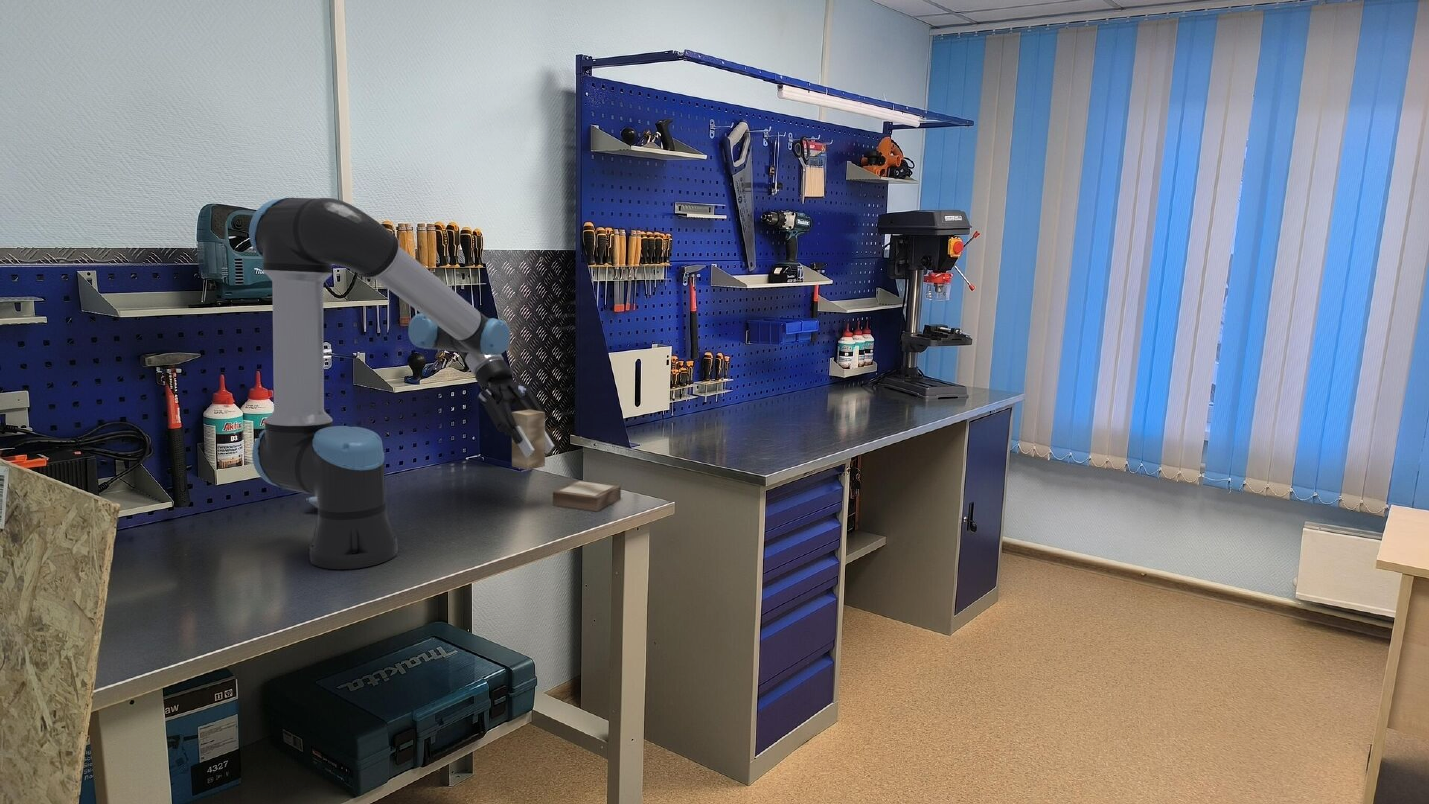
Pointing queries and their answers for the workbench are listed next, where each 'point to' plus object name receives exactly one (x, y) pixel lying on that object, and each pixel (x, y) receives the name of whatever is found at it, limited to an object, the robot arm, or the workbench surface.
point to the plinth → (586, 495)
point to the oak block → (530, 439)
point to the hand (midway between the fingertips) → (540, 451)
